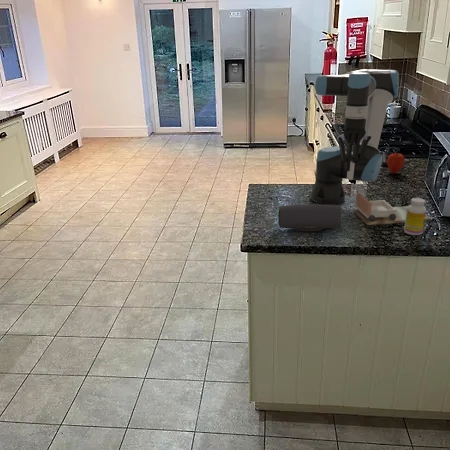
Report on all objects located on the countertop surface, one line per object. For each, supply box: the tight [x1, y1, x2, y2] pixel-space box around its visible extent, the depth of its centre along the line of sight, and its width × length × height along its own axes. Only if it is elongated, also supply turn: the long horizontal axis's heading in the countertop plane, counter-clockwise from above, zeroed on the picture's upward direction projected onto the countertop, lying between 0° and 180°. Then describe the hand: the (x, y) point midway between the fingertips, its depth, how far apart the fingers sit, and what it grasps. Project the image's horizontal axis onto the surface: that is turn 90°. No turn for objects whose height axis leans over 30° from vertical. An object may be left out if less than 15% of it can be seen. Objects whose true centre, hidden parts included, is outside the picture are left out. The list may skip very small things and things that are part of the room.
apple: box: [387, 152, 405, 174], centre depth 233 cm, size 9×8×11 cm
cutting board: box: [354, 205, 432, 226], centre depth 182 cm, size 26×14×1 cm, turn 96°
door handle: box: [380, 152, 410, 167], centre depth 253 cm, size 3×20×16 cm
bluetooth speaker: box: [277, 203, 342, 232], centre depth 170 cm, size 23×9×10 cm, turn 89°
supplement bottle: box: [403, 197, 427, 236], centre depth 165 cm, size 7×7×13 cm
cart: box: [355, 192, 397, 222], centre depth 180 cm, size 12×14×7 cm
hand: (349, 178), depth 174 cm, fingers closed
